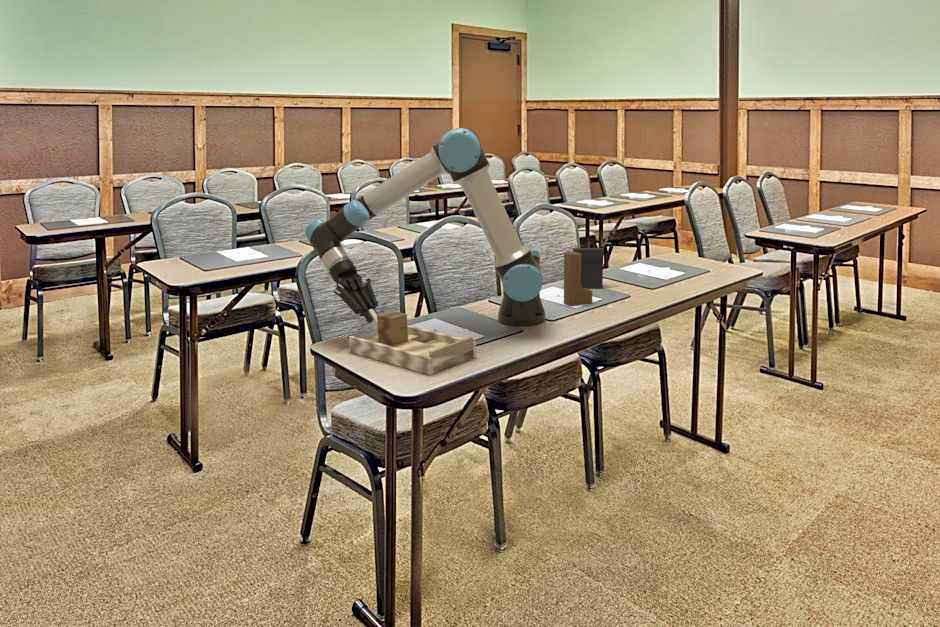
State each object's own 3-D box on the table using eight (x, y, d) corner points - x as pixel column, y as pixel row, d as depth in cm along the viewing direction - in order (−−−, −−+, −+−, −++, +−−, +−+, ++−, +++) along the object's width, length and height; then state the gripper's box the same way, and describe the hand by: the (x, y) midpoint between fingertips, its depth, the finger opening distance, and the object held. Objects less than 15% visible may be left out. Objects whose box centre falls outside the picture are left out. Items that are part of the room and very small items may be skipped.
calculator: (601, 286, 288) (602, 247, 284) (602, 289, 284) (603, 249, 280) (572, 286, 289) (572, 247, 285) (573, 289, 285) (573, 249, 281)
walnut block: (378, 342, 218) (376, 315, 216) (393, 337, 223) (392, 310, 221) (393, 346, 215) (391, 318, 212) (408, 340, 219) (406, 313, 217)
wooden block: (586, 300, 269) (587, 249, 264) (592, 303, 264) (593, 252, 260) (563, 303, 266) (563, 252, 261) (569, 306, 262) (569, 254, 257)
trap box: (349, 351, 218) (348, 331, 217) (396, 336, 232) (395, 317, 230) (430, 375, 198) (429, 353, 196) (476, 357, 211) (476, 336, 209)
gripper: (351, 269, 233) (391, 331, 227) (316, 277, 224) (357, 342, 218) (361, 254, 228) (402, 317, 222) (326, 261, 219) (368, 327, 213)
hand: (380, 329), depth 220 cm, fingers closed
